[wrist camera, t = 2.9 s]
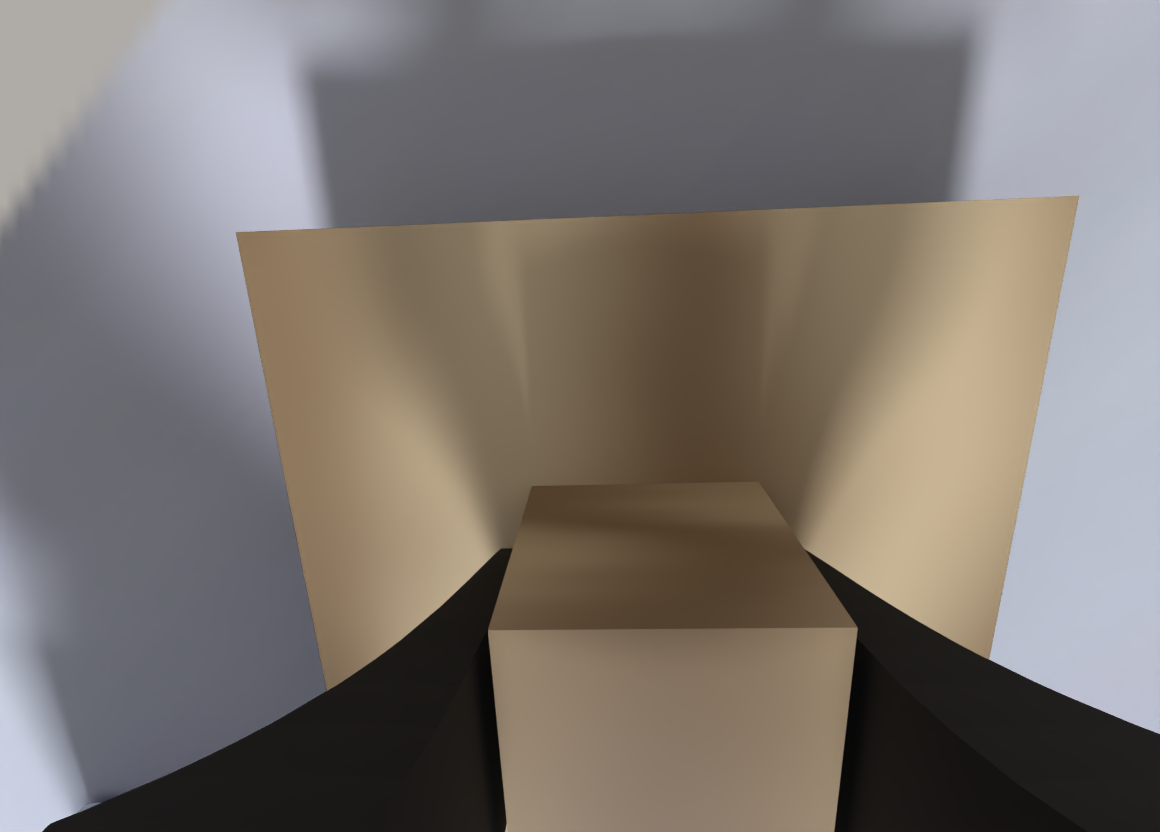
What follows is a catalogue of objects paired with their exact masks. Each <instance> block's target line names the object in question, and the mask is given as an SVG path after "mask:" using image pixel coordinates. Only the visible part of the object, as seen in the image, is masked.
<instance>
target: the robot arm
mask: <svg viewBox="0 0 1160 832" xmlns="http://www.w3.org/2000/svg"><path fill="white" fill-rule="evenodd" d="M512 550H513V548H501V549H500V550H499V551H497V552H496V553H495V554H494V555H493V556H492V557H491V558H490V559H489V560H488V561H487V562H486V563H485V564H484V565H483V566H482V567H481V568H480V569H479V570H478V571H477V572H476V573H475V574H474V575H473V576H472V577H471V578H470V579H469V580H468V581H467V582H466V583H465V584H464V585H463V586H462V587H461V588H460V589H459V590H458V591H456V592H455V593H454V594H453V595H452V596H451V597H450V598H449V599H448V600H447V601H446V602H445V603H444V604H443V605H442V606H440V607H439V608H438V609H437V610H436V611H435V612H433V613H432V614H431V615H430V616H429V617H427V618H426V619H425V620H424V621H423V622H422V623H420V624H419V625H418V626H417V627H416V628H414V629H413V630H412V631H411V632H410V633H408V634H407V635H406V636H405V637H404V638H403V639H401V640H400V641H399V642H397V643H396V644H395V645H394V646H392V647H391V648H390V649H388V650H387V651H386V652H384V653H383V654H381V655H380V656H379V657H377V658H376V659H375V660H373V661H372V662H370V663H369V664H367V665H366V666H364V667H363V668H362V669H360V670H359V671H357V672H356V673H354V674H353V675H351V676H350V677H348V678H347V679H345V680H344V681H342V682H341V683H339V684H338V685H336V686H334V687H333V688H331V689H329V690H328V691H326V692H324V693H323V694H321V695H319V696H318V697H316V698H314V699H312V700H311V701H309V702H307V703H306V704H304V705H302V706H301V707H299V708H297V709H296V710H294V711H292V712H291V713H289V714H287V715H286V716H284V717H282V718H280V719H279V720H277V721H275V722H273V723H271V724H270V725H268V726H266V727H264V728H262V729H260V730H258V731H256V732H254V733H253V734H251V735H249V736H247V737H245V738H243V739H241V740H239V741H237V742H235V743H233V744H231V745H229V746H227V747H225V748H223V749H221V750H219V751H217V752H215V753H213V754H211V755H209V756H207V757H205V758H203V759H201V760H198V761H196V762H194V763H192V764H190V765H188V766H186V767H184V768H181V769H179V770H177V771H175V772H173V773H171V774H168V775H166V776H164V777H161V778H159V779H157V780H154V781H152V782H150V783H147V784H145V785H143V786H140V787H138V788H135V789H133V790H131V791H128V792H126V793H124V794H121V795H119V796H117V797H114V798H112V799H109V800H107V801H105V802H102V803H91V804H87V805H86V806H84V807H83V808H82V809H81V810H80V811H79V812H78V813H76V814H74V815H71V816H69V817H66V818H64V819H61V820H58V821H56V822H53V823H51V824H50V825H48V826H47V827H46V828H45V829H44V830H43V831H42V832H505V831H506V826H507V820H506V809H505V799H504V789H503V779H502V769H501V759H500V748H499V738H498V728H497V718H496V708H495V698H494V688H493V677H492V667H491V657H490V647H489V637H488V628H489V625H490V622H491V618H492V615H493V612H494V609H495V605H496V602H497V599H498V596H499V592H500V589H501V586H502V582H503V579H504V576H505V573H506V569H507V566H508V563H509V560H510V556H511V553H512ZM805 551H806V552H807V554H808V555H809V556H810V558H811V559H812V561H813V562H814V564H815V565H816V567H817V568H818V570H819V571H820V573H821V574H822V576H823V577H824V579H825V580H826V582H827V583H828V584H829V586H830V587H831V589H832V590H833V592H834V593H835V595H836V596H837V598H838V599H839V601H840V602H841V604H842V605H843V607H844V608H845V610H846V611H847V612H848V614H849V615H850V617H851V618H852V620H853V621H854V623H855V624H856V626H857V627H858V630H857V639H856V647H855V656H854V665H853V673H852V682H851V691H850V699H849V708H848V717H847V725H846V734H845V743H844V751H843V760H842V769H841V777H840V786H839V795H838V803H837V812H836V821H835V829H834V832H1160V734H1158V733H1155V732H1153V731H1150V730H1147V729H1145V728H1142V727H1139V726H1137V725H1134V724H1132V723H1129V722H1127V721H1125V720H1122V719H1120V718H1117V717H1115V716H1113V715H1110V714H1108V713H1105V712H1103V711H1101V710H1098V709H1096V708H1093V707H1091V706H1089V705H1086V704H1084V703H1081V702H1079V701H1077V700H1074V699H1072V698H1069V697H1067V696H1065V695H1063V694H1060V693H1058V692H1056V691H1054V690H1051V689H1049V688H1047V687H1045V686H1042V685H1040V684H1038V683H1036V682H1034V681H1032V680H1029V679H1027V678H1025V677H1023V676H1021V675H1019V674H1017V673H1015V672H1013V671H1011V670H1009V669H1007V668H1005V667H1003V666H1001V665H999V664H997V663H995V662H993V661H991V660H989V659H987V658H985V657H982V656H980V655H978V654H977V653H975V652H973V651H971V650H969V649H967V648H965V647H963V646H961V645H959V644H958V643H956V642H954V641H952V640H950V639H949V638H947V637H945V636H943V635H942V634H940V633H938V632H936V631H935V630H933V629H931V628H929V627H928V626H926V625H924V624H922V623H921V622H919V621H917V620H915V619H914V618H912V617H910V616H909V615H907V614H905V613H904V612H902V611H900V610H899V609H897V608H895V607H894V606H892V605H891V604H889V603H887V602H886V601H884V600H883V599H881V598H879V597H878V596H876V595H875V594H873V593H872V592H870V591H868V590H867V589H865V588H864V587H862V586H861V585H859V584H858V583H856V582H855V581H853V580H852V579H850V578H848V577H847V576H845V575H844V574H842V573H841V572H839V571H838V570H836V569H835V568H833V567H832V566H830V565H829V564H827V563H826V562H824V561H823V560H821V559H820V558H818V557H816V556H815V555H813V554H812V553H810V552H809V551H807V550H805Z"/></svg>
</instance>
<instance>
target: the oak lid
mask: <svg viewBox="0 0 1160 832" xmlns="http://www.w3.org/2000/svg"><path fill="white" fill-rule="evenodd" d="M1078 200H1079V196H1065V197H1042V198H1019V199H995V200H972V201H949V202H926V203H903V204H880V205H857V206H834V207H811V208H788V209H765V210H742V211H718V212H695V213H672V214H649V215H626V216H603V217H580V218H557V219H534V220H511V221H488V222H464V223H441V224H418V225H395V226H372V227H349V228H326V229H303V230H280V231H257V232H236V236H237V241H238V246H239V251H240V256H241V261H242V266H243V271H244V276H245V281H246V286H247V291H248V296H249V301H250V306H251V311H252V316H253V321H254V326H255V331H256V337H257V342H258V347H259V352H260V357H261V362H262V367H263V372H264V377H265V382H266V387H267V392H268V397H269V402H270V407H271V412H272V417H273V422H274V427H275V432H276V437H277V442H278V447H279V452H280V457H281V462H282V468H283V473H284V478H285V483H286V488H287V493H288V498H289V503H290V508H291V513H292V518H293V523H294V528H295V533H296V538H297V543H298V548H299V553H300V558H301V563H302V568H303V573H304V578H305V583H306V588H307V593H308V599H309V604H310V609H311V614H312V619H313V624H314V629H315V634H316V639H317V644H318V649H319V654H320V659H321V664H322V669H323V674H324V679H325V684H326V689H327V691H328V690H329V689H331V688H333V687H334V686H336V685H338V684H339V683H341V682H342V681H344V680H345V679H347V678H348V677H350V676H351V675H353V674H354V673H356V672H357V671H359V670H360V669H362V668H363V667H364V666H366V665H367V664H369V663H370V662H372V661H373V660H375V659H376V658H377V657H379V656H380V655H381V654H383V653H384V652H386V651H387V650H388V649H390V648H391V647H392V646H394V645H395V644H396V643H397V642H399V641H400V640H401V639H403V638H404V637H405V636H406V635H407V634H408V633H410V632H411V631H412V630H413V629H414V628H416V627H417V626H418V625H419V624H420V623H422V622H423V621H424V620H425V619H426V618H427V617H429V616H430V615H431V614H432V613H433V612H435V611H436V610H437V609H438V608H439V607H440V606H442V605H443V604H444V603H445V602H446V601H447V600H448V599H449V598H450V597H451V596H452V595H453V594H454V593H455V592H456V591H458V590H459V589H460V588H461V587H462V586H463V585H464V584H465V583H466V582H467V581H468V580H469V579H470V578H471V577H472V576H473V575H474V574H475V573H476V572H477V571H478V570H479V569H480V568H481V567H482V566H483V565H484V564H485V563H486V562H487V561H488V560H489V559H490V558H491V557H492V556H493V555H494V554H495V553H496V552H497V551H499V550H500V549H501V548H513V550H512V553H511V556H510V560H509V563H508V566H507V569H506V573H505V576H504V579H503V582H502V586H501V589H500V592H499V596H498V599H497V602H496V605H495V609H494V612H493V615H492V618H491V622H490V625H489V628H488V637H489V647H490V657H491V667H492V677H493V688H494V698H495V708H496V718H497V728H498V738H499V748H500V759H501V769H502V779H503V789H504V799H505V809H506V820H507V826H506V831H505V832H834V829H835V821H836V812H837V803H838V795H839V786H840V777H841V769H842V760H843V751H844V743H845V734H846V725H847V717H848V708H849V699H850V691H851V682H852V673H853V665H854V656H855V647H856V639H857V630H858V627H857V626H856V624H855V623H854V621H853V620H852V618H851V617H850V615H849V614H848V612H847V611H846V610H845V608H844V607H843V605H842V604H841V602H840V601H839V599H838V598H837V596H836V595H835V593H834V592H833V590H832V589H831V587H830V586H829V584H828V583H827V582H826V580H825V579H824V577H823V576H822V574H821V573H820V571H819V570H818V568H817V567H816V565H815V564H814V562H813V561H812V559H811V558H810V556H809V555H808V554H807V552H806V551H805V550H807V551H809V552H810V553H812V554H813V555H815V556H816V557H818V558H820V559H821V560H823V561H824V562H826V563H827V564H829V565H830V566H832V567H833V568H835V569H836V570H838V571H839V572H841V573H842V574H844V575H845V576H847V577H848V578H850V579H852V580H853V581H855V582H856V583H858V584H859V585H861V586H862V587H864V588H865V589H867V590H868V591H870V592H872V593H873V594H875V595H876V596H878V597H879V598H881V599H883V600H884V601H886V602H887V603H889V604H891V605H892V606H894V607H895V608H897V609H899V610H900V611H902V612H904V613H905V614H907V615H909V616H910V617H912V618H914V619H915V620H917V621H919V622H921V623H922V624H924V625H926V626H928V627H929V628H931V629H933V630H935V631H936V632H938V633H940V634H942V635H943V636H945V637H947V638H949V639H950V640H952V641H954V642H956V643H958V644H959V645H961V646H963V647H965V648H967V649H969V650H971V651H973V652H975V653H977V654H978V655H980V656H982V657H985V658H987V659H989V657H990V652H991V647H992V642H993V637H994V631H995V626H996V621H997V616H998V611H999V606H1000V601H1001V596H1002V590H1003V585H1004V580H1005V575H1006V570H1007V565H1008V560H1009V554H1010V549H1011V544H1012V539H1013V534H1014V529H1015V524H1016V518H1017V513H1018V508H1019V503H1020V498H1021V493H1022V488H1023V482H1024V477H1025V472H1026V467H1027V462H1028V457H1029V452H1030V446H1031V441H1032V436H1033V431H1034V426H1035V421H1036V416H1037V411H1038V405H1039V400H1040V395H1041V390H1042V385H1043V380H1044V375H1045V369H1046V364H1047V359H1048V354H1049V349H1050V344H1051V339H1052V333H1053V328H1054V323H1055V318H1056V313H1057V308H1058V303H1059V297H1060V292H1061V287H1062V282H1063V277H1064V272H1065V267H1066V262H1067V256H1068V251H1069V246H1070V241H1071V236H1072V231H1073V226H1074V220H1075V215H1076V210H1077V205H1078Z"/></svg>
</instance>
